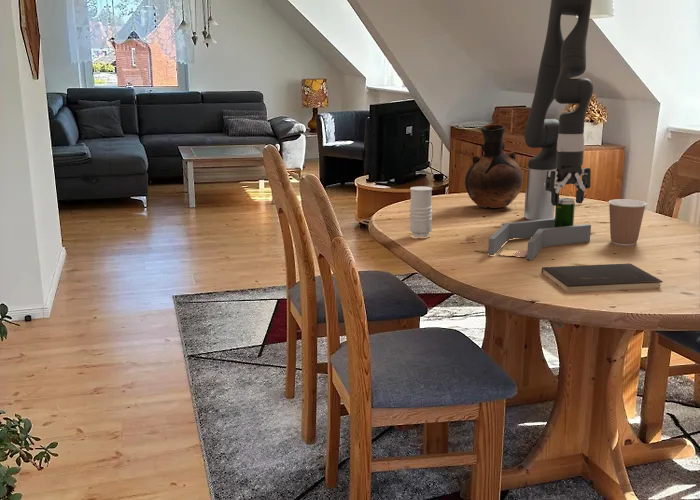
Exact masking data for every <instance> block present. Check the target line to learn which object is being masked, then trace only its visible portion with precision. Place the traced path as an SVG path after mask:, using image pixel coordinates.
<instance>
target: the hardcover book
mask: <svg viewBox="0 0 700 500" xmlns="http://www.w3.org/2000/svg"><path fill="white" fill-rule="evenodd" d="M543 273H544V274H545V275H544V276H546V277H547V276H548V277H549V278H548V277H547V278H548V279H549V280H551V279H552V280H553V281H552V280H551V281H552V282H553V283H555V282H556V283H557V284H558V286H559V287H560V286H561V287H562V288H561V287H560V288H561V289H562V290H564V291H565V292H566V291H567V293H577V292H578V293H579V292H580V293H581V292H599V291H602V292H603V291H620V290H621V291H622V290H644V289H660V288H661V286H662V284H661V283H663V281H664V280H662V279H660V278H657V277H656V276H654V275H652V274H651V273H648V272H646V271H644V269H641V268H640V267H638V266H636V265H634V264H632V263H630V262H629V263H610V264H609V263H607V264H586V265H585V264H584V265H562V266H561V265H559V266H558V265H557V266H542V267H541V274H543ZM556 283H555V284H556ZM557 284H556V285H557Z"/></svg>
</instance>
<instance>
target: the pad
mask: <svg viewBox="0 0 700 500" xmlns="http://www.w3.org/2000/svg"><path fill="white" fill-rule="evenodd" d="M518 250H519V251H518V253H517V252H516V253H515V254H514V253H513V254H514V255H515V256H520V257H525V256H526V257H527V249H518ZM519 252H520V253H519ZM512 256H513V255H512ZM526 257H525V258H526Z"/></svg>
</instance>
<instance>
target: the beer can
mask: <svg viewBox="0 0 700 500" xmlns="http://www.w3.org/2000/svg"><path fill="white" fill-rule="evenodd" d="M575 204H576V201H575V199H574V198H571V197H559V205H558V206H555V209H554V218H555V225H554V227H564V226H573V225H574V222H575V221H574V219H575Z"/></svg>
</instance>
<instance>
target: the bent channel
mask: <svg viewBox="0 0 700 500" xmlns="http://www.w3.org/2000/svg"><path fill="white" fill-rule="evenodd" d="M501 224H502V225H501V227H499V228H498V229H497V230H496V231H495V232H494V233H493V234H491V236H490V237H488V249H487V251H488V253H487V254H489V255H494V254H495V253H496V252H497V251H498V250H499V249H500V248H501V246H502V245H503V244H504V243H505V242H506V241H508V240H509V239H513V238H526V239H529V240H528V241H527V249H526V250H527V255H526V260H527V259H529V260H528V261H532V260H533V261H534V259H535V258H536V257H537V255H538V254H539V253H538V252H540V251H541V250H542V249H543V248H546V247H545V246H547V247H554V246H555V247H556V246H563V245H572V244H580V243H581V244H582V243H588V242H591V234H592V233H591V232H592V230H591V229H592V225H591V224H589V223H584V224H576V225H575V224H573V226H564V227H554V225H555V217H554V218H551V219H541V220H525V221H523V220H522V221H514V222H504V223H501ZM530 237H532V238H530ZM509 241H510V240H509ZM509 241H508V242H509ZM541 248H542V249H541ZM501 249H502V248H501ZM501 249H500V250H501ZM540 249H541V250H540ZM535 256H536V257H535ZM534 257H535V258H534Z"/></svg>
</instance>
